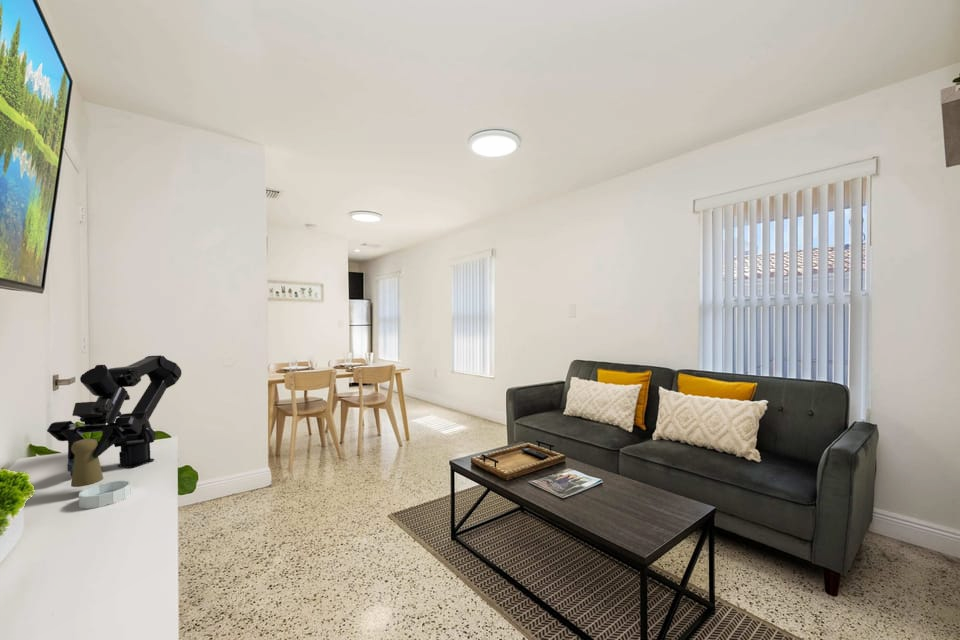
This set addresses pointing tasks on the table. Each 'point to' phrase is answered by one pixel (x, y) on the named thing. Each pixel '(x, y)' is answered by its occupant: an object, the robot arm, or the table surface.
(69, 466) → the stone
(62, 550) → the table surface
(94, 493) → the bowl
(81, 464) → the cork
